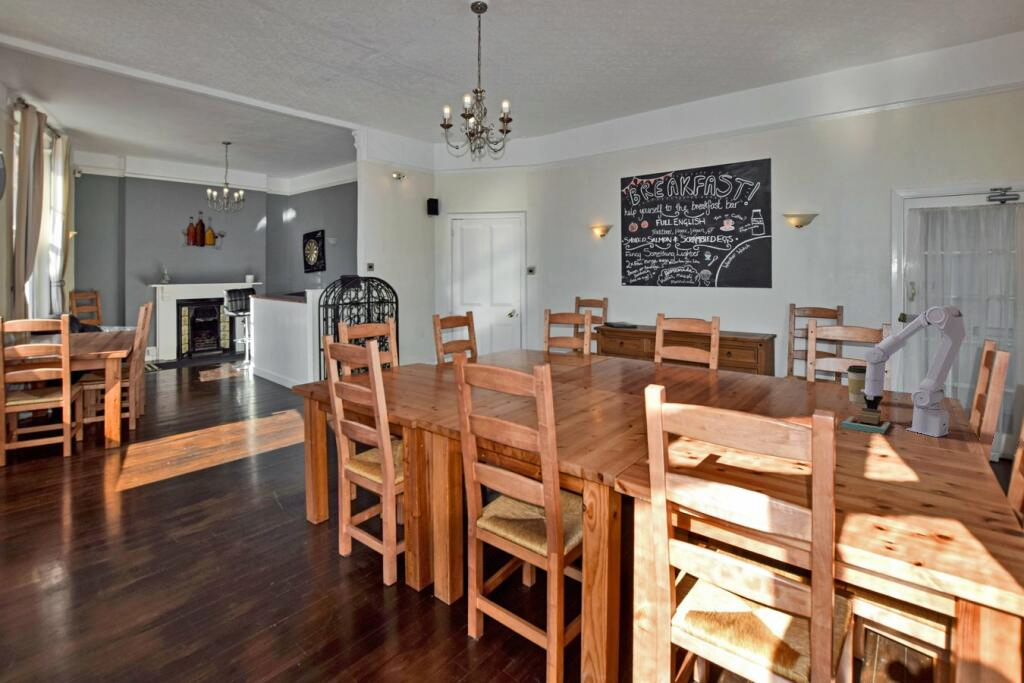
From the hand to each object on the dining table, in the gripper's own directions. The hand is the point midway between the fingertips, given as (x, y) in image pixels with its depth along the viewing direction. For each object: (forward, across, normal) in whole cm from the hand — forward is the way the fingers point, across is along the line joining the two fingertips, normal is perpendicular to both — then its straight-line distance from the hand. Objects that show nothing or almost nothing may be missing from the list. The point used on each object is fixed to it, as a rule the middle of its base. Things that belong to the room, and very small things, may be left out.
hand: (871, 415), depth 198 cm
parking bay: (+2, +12, 0) cm, 12 cm away
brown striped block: (+2, +5, 0) cm, 5 cm away
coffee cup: (+2, -30, -9) cm, 31 cm away
